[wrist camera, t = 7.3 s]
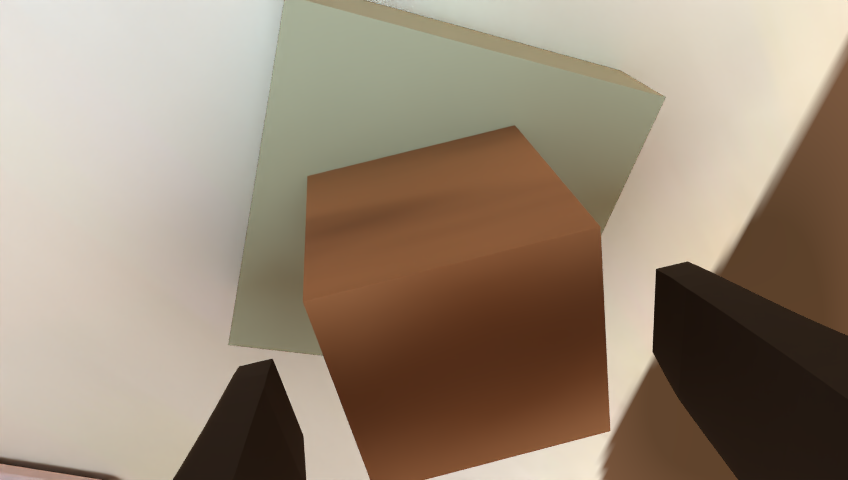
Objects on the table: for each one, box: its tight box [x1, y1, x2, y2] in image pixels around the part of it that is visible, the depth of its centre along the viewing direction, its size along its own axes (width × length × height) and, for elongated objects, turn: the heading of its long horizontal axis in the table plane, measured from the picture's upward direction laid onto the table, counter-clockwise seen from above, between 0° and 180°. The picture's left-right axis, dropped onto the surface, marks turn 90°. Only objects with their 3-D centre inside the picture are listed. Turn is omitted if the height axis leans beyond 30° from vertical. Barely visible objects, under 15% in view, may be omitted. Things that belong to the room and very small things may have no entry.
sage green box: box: [228, 0, 666, 356], centre depth 16 cm, size 9×9×3 cm
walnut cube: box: [303, 125, 610, 480], centre depth 13 cm, size 5×5×5 cm
